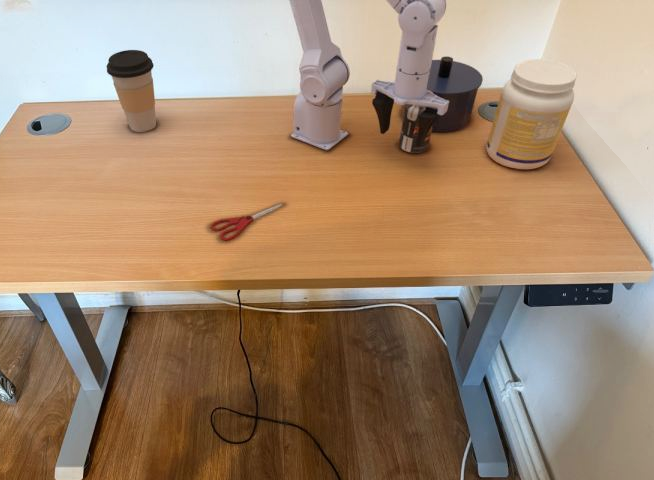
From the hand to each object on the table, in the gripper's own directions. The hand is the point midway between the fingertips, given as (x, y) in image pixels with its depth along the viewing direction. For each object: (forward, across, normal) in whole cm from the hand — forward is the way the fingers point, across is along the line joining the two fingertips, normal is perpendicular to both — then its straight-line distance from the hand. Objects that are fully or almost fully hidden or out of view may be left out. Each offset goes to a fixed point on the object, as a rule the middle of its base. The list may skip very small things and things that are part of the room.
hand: (401, 137), depth 102 cm
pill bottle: (+5, 0, +6) cm, 8 cm away
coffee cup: (+5, -52, -21) cm, 56 cm away
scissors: (+6, -12, -32) cm, 34 cm away
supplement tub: (+5, +18, +15) cm, 24 cm away
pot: (+5, -2, +20) cm, 21 cm away
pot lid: (-4, -2, +20) cm, 21 cm away
